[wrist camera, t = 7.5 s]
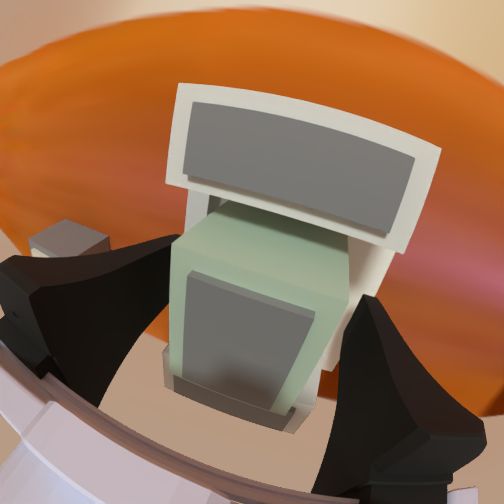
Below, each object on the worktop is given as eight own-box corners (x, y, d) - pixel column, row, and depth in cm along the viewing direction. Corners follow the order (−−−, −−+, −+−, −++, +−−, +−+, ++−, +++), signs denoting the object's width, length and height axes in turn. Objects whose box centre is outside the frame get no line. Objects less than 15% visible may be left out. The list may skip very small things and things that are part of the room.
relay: (109, 235, 18) (65, 263, 14) (112, 271, 19) (73, 302, 15) (66, 218, 18) (25, 240, 15) (70, 251, 20) (33, 275, 16)
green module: (346, 214, 12) (349, 309, 6) (310, 311, 14) (283, 422, 9) (248, 185, 13) (165, 248, 7) (229, 284, 15) (166, 378, 9)
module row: (426, 149, 10) (491, 173, 5) (332, 362, 17) (320, 445, 11) (214, 92, 12) (131, 81, 7) (187, 313, 18) (137, 378, 13)
